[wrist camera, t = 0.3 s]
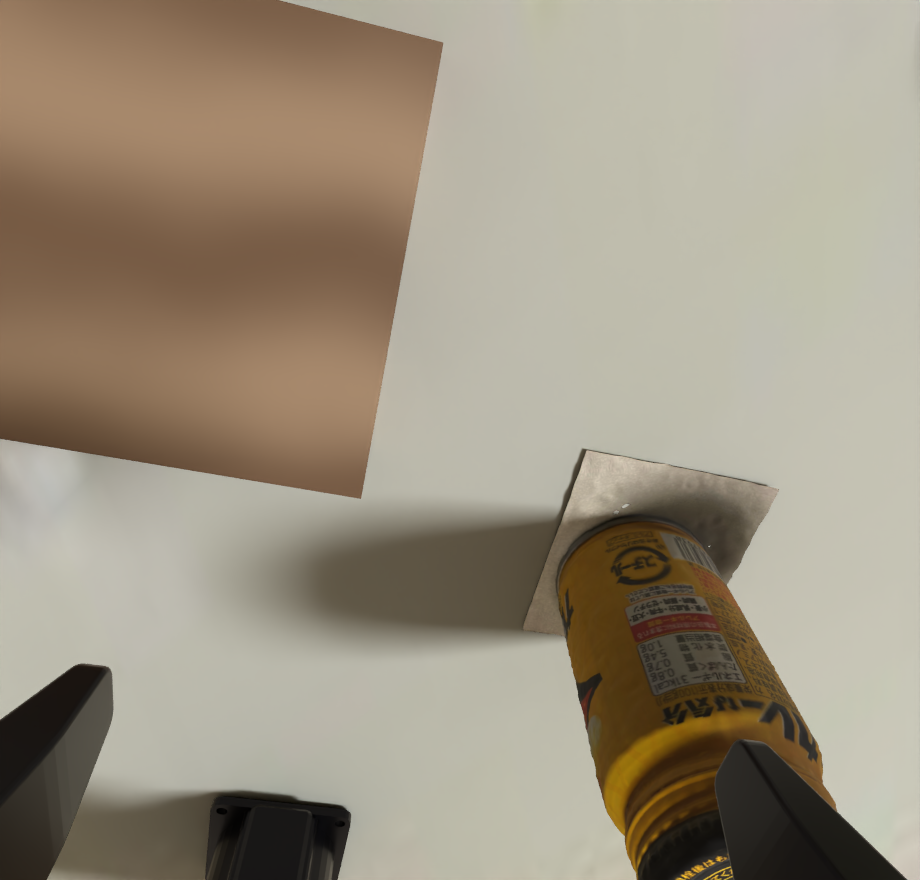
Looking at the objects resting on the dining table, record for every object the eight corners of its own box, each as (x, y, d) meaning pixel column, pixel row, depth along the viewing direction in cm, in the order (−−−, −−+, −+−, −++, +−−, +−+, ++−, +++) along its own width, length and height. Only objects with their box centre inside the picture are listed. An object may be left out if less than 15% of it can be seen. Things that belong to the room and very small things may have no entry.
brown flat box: (372, 436, 24) (360, 498, 20) (8, 371, 22) (-74, 426, 19) (441, 51, 18) (443, 42, 15) (-33, -70, 17) (-159, -113, 13)
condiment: (521, 626, 27) (575, 967, 17) (585, 447, 24) (707, 742, 13) (688, 652, 28) (837, 990, 18) (775, 484, 25) (1032, 787, 14)
